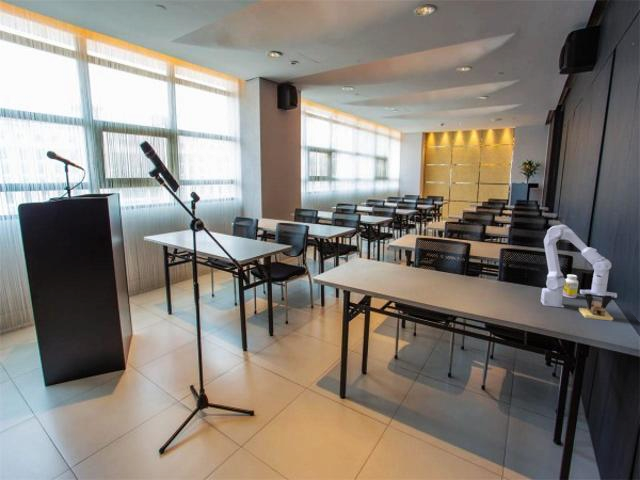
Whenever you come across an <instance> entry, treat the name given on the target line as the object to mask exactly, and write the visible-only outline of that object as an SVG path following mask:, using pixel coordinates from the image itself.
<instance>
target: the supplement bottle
mask: <svg viewBox="0 0 640 480" xmlns="http://www.w3.org/2000/svg"><path fill="white" fill-rule="evenodd" d="M565 280H566V284H565V286H563V289H564V290H563V297H565V298H568V299H570V298H571V299H576V298H577V296H578V288H579V280H578V275H576V274H570V273H569V274H566V278H565Z"/></svg>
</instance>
